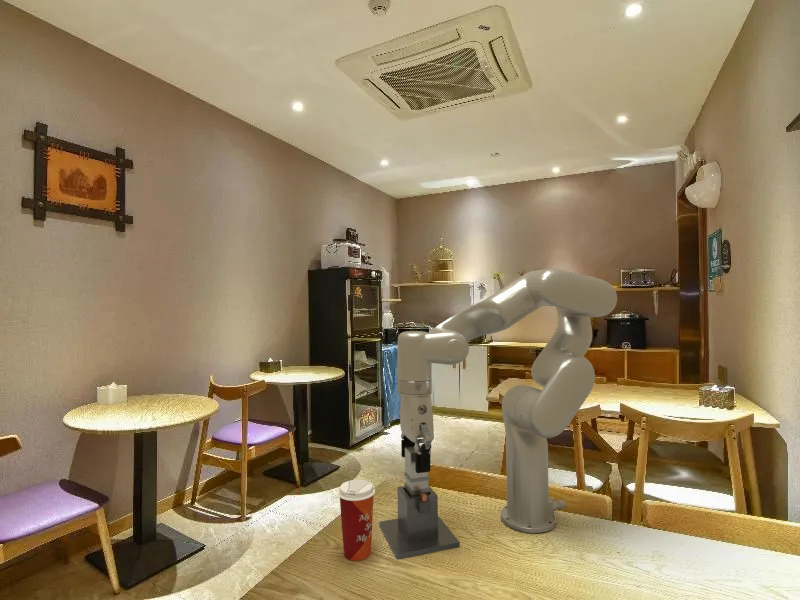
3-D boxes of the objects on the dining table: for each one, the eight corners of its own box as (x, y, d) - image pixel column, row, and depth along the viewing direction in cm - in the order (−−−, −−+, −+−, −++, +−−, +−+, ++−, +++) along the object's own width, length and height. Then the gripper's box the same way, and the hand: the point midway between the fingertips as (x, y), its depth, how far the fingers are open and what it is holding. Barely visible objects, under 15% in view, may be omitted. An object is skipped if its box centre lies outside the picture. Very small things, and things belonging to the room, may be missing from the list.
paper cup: (370, 566, 87) (369, 495, 87) (333, 562, 88) (332, 492, 88) (380, 544, 94) (379, 479, 94) (346, 540, 96) (345, 477, 96)
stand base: (435, 516, 106) (434, 470, 106) (459, 546, 93) (459, 494, 93) (379, 526, 102) (378, 478, 102) (396, 559, 89) (395, 505, 89)
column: (423, 523, 100) (422, 445, 100) (430, 533, 96) (429, 451, 96) (405, 526, 99) (403, 447, 99) (411, 536, 95) (410, 453, 95)
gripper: (445, 393, 90) (446, 476, 90) (417, 379, 107) (418, 449, 107) (411, 396, 88) (412, 481, 88) (388, 381, 105) (388, 453, 104)
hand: (415, 463), depth 97 cm, fingers open, 9 cm apart
